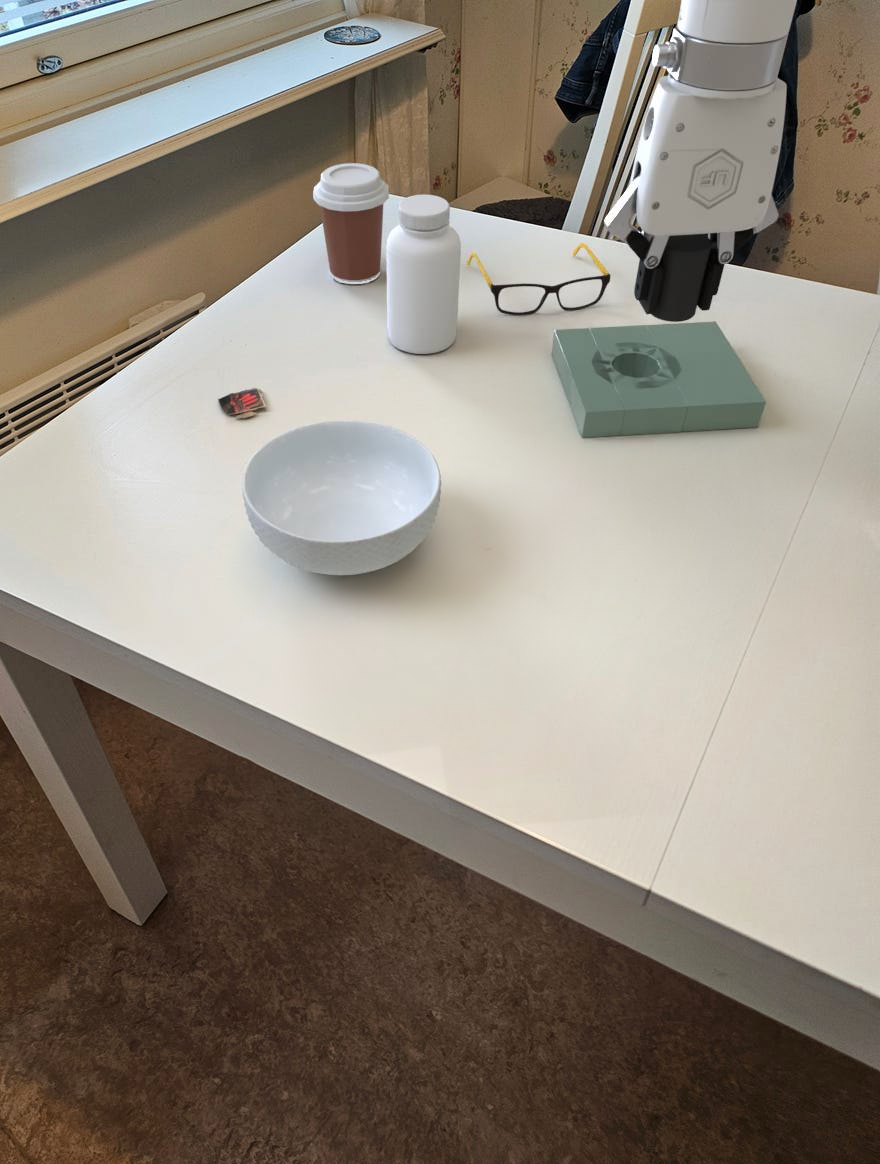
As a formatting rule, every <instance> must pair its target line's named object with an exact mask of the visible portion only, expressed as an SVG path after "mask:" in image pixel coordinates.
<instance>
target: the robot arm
mask: <svg viewBox="0 0 880 1164" xmlns="http://www.w3.org/2000/svg"><path fill="white" fill-rule="evenodd" d="M680 1H681V2H680V8H679V12H678V19H677V23H676V24H677V25H676V28H673V31H672V36H671V38H670V41H666V42H665V43H660V44H659V43H658V44H655V45H654V47H653V50H652V57H651V58H652V66H653V68H654V67H662V68H663V69H666V71H667V72H668V75H664V76H661V77H660V78H659V80H658V82H657V85H656V88H655V90H654V93H653V96H652V99H651V102H650V104H649V107H648V110H647V113H646V116H645V119H644V123H643V126H642V130H641V134H640V137H639V140H638V143H637V144H638V145H637V149H636V153H635V157H634V162H633V166H632V171H631V176H630V180H629V185H628V188H627V189H625V191H624V193H623V194H622V195H621V197H620V198H619V199H618V201H617V202H616V203H615V205H614V206H613V207H612V208H611V210H610V211H609V213H608V214H607V215H606V216H605V218H604V219H603V224H604V226H605V229H607V231H608V233H609V234H611V235H612V236H614V237H615V238H617V239H618V240H619V241H621V242H623V243H624V244H625V245H627V246H628V247H629V248H630V249H631V250H632V251H633V253H635V256H637V257H638V259H639V260H638V268H637V272H636V278H635V283H634V290H633V292H634V293H633V295H634V297H635V299H636V301H638V303H639V304H640V306H641V308H642V309H643V311H644V313H645V314H646V315H651V314H653V313H654V312H656V309H657V304H658V299H659V294H660V289H661V284H662V279H663V274H664V269H663V267H662V266H661V264H660V262H661V257H662V254H663V252H664V249H665V246H666V244H667V241H668V239H669V236H673V235H690V234H703V235H705V234H707V237H708V238H709V239H710V240H711V243H712V245H711V249H710V253H709V257H708V262H707V266H706V270H705V274H704V279H703V283H702V287H701V291H700V295H699V300H698V304H697V308H699V310H701V311H702V312H703V311H709V310H710V309H711V305H712V301H713V297H714V296H717V294H718V292H719V288H720V284H721V281H722V277H723V272H724V268H725V265H726V264H728V263H730V262H731V261H732V260H733V258H734V254H735V253H736V252H737V251H738V250H740V249H741V248H742V247H743V246H744V245H745V244H746V243H747V242H749V241H750V240H751V239H752V238H753V237H754V235H755V234H759V233H760V232H762V231H763V230H765V229H766V228H768V227H770V226H771V225H773V224H774V223H776V222H777V220H778V219H779V217H780V215H779V212H778V209H777V206H776V203H775V200H774V197H773V194H772V193H773V189H774V184H775V179H776V174H777V169H778V163H779V159H780V153H781V147H782V140H783V133H784V125H785V116H786V108H787V107H786V106H787V105H786V104H787V89H788V86H787V83H786V82H785V81H783V80H782V79H780V78H779V77H778V75H779V72H780V67H781V64H782V60H783V56H784V53H785V48H786V44H787V40H788V36H789V32H790V29H791V25H792V23H793V22H792V21H793V17H794V13H795V10H796V6H797V1H798V0H680ZM634 215H636V216H635V217H636V222H637V224H638V226H639V227H640V229H641V231H640V229H639V228H638V227H637V226H635V224H631V223H630V220H631V219H632V218H633V216H634Z"/></svg>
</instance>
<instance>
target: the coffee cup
mask: <svg viewBox="0 0 880 1164" xmlns="http://www.w3.org/2000/svg"><path fill="white" fill-rule="evenodd" d="M389 187H390V186H389V184H388V183H386V182H385V181H384V179H382V178H381V173H380V171H378V169H377V168H376V167H374V166H371V165H368V164H365V163H357V162H353V163H352V162H347V163H341V164H335V165H333V166H330V167H328V168H326V169H325V170H323V171H322V173H321V174H320V181H318V183H317V184H316V185H314V187H313V192H312V195H313V200H314V202H315V203H316V204H317V205H318V206H319V209H320V216H321V221H322V228H323V235H324V240H325V247H326V253H327V258H328V259H327V260H328V266H329V273H330V272H331V274H332V275H333V277H335V278H338V279H340V280H342V281H347V282H362V281H367V280H371V279H372V278H375V277H376V276H377V275H378V274H379V272H380V273H381V265H382V264H381V263H382V241H383V223H384V222H383V221H384V220H383V219H384V204H385V203H386V201H388V200H389V198H390V189H389Z"/></svg>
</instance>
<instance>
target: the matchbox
mask: <svg viewBox="0 0 880 1164" xmlns="http://www.w3.org/2000/svg"><path fill="white" fill-rule="evenodd" d="M263 396H264V391H263V390H261V389H260V388H258V387H252V388H251V389H250V388H249V389H245V390H241V391H238V392H231V393H229V394H226V395H224V396H222V397H220V398H217V400H218V405H219V408H220V409H221V410H222V411H223V412H224V413H225V414H226V415H227V416H230V415H234V417H235V418H236V419H238V420H240V419H243V420H245V419H247V418H250V417H253V416H256V415H257V414H258V410H259V411H260V408H261V409H263V408H265V407H266V403H265V399H263ZM256 410H257V412H256ZM254 411H255V412H254Z"/></svg>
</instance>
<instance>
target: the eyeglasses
mask: <svg viewBox="0 0 880 1164" xmlns="http://www.w3.org/2000/svg"><path fill="white" fill-rule="evenodd" d="M581 248H584V249H585V252H587V254H588V255H589V257H590V258H591V260H592V261H593V262H594V264H595V265H596V267H598V269H599V271H600V273H601V274H602V275H596V276H589V277H581V278H576V279H572V280H568V281H565V282H562V283H558V284H555V285H546V284H541V283H509V284H508V283H507V284H493V281H492V280H491V278H490V277H489V275H488V273H487V271H486V269H485V267H484V266H483V264H482V263H481V260H480V259H479V257H478V255H477V254H476V253H475V252H472V253H470V255H469V256H468V258H467V261H466V265H467V266H468V265H469V266H470V264H471V262H472V260H473V258H474V259H475V261H476V263H477V265H478V267H479V269H480V270H481V274H482V275H483V277H484V279H485V281H486V284H487V286H488V288H489V290H490V292H491V293H492V295H493V297H494V302H495V307H496V309H497V311H498V312H500V313H502V314H505V315H511V316H512V315H513V316H527V315H533V314H536V313H537V312H538V311H539V310H540V309H541V308H542V306H543V305H544V303H545V301H546V299H547V297H548V295H549V294H555V295H556V299H557V303H558V305H559V307H560V309H562V310H563V311H578V310H582V308H583V309H587V308H590V307H592V306H594V305H596V304H598V303H599V302H600V301H601V299H602V298H603V295H604V293H605V291H606V288H607V287H608V285H609V283H610V282H611V274H610V273H609V272H608V270H607V269H606V267H605V266H604V265H603V264H602V263H601V261H600V260H599V259H598V257H596V255H595V254H594V253H593V251H592V250H591V249H590V248H589V247H588V246H587V244H586V243H580V244H579V245H578V246H577V247H576V248H575V249H574V250H573V251H572V256H573V255H574V256H573V257H576V256H577V254H578V253H579V251H580V249H581ZM593 280H595V281H597V280H600V281H601V287H600V292H599V294H598V296H597V297H596V298H595V300H594V301H591V302H589V303H587V304H583V305H580V306H575V307H570V306H569V307H568V306H567V307H566V306H565V305H563V304H562V302H561V299H560V290H561V289H562V288H564V287H565V286H568V285H572V284H575V283H579V282H586V281H593ZM517 287H518V288H519V287H532V288H533V287H534V288H541V289H544V293H543V295H542V297H541V299H540V301H539V303H538V305H537V306H536V308H533V309H532V310H527V311H523V312H522V311H520V312H519V311H517V312H516V311H510V310H504V309H502V308H501V307H500V303H499V302H500V301H499V300H500V299H499V297H500V293H501V292H502V290H504V289H508V288H517Z"/></svg>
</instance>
